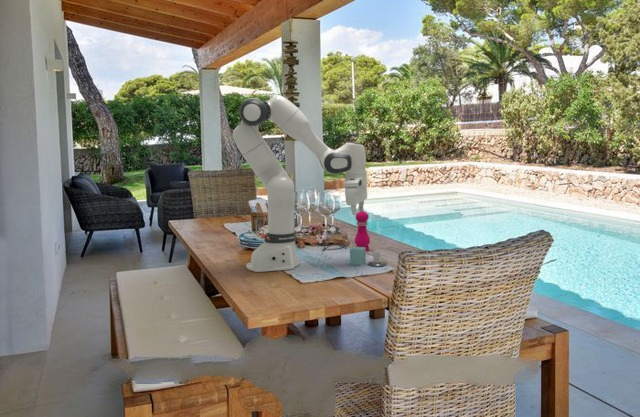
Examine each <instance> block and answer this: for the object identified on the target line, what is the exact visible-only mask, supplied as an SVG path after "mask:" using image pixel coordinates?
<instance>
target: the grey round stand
mask: <svg viewBox="0 0 640 417" xmlns="http://www.w3.org/2000/svg"><path fill="white" fill-rule="evenodd" d="M372 253H373V254H372V255H373V258H372V260H373V261H368V262H367V265H368V266H369V267H372V266H373V268H382V267H386V266H387V265H388V262H387V261H383V260H382V251H381V250H374V251H373V252H372Z"/></svg>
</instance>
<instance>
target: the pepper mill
mask: <svg viewBox="0 0 640 417" xmlns="http://www.w3.org/2000/svg"><path fill="white" fill-rule="evenodd" d="M368 220H369V213H367V212H366V211H365V209H364V208H363V211H357V215H355V221H356V225H357V233H356V235H355V236H354V244H355V245H356V246H355V247H366V252H368V251H369V250H370V246H369V245H370V242H371V238H370V236H369V234H368V231H367V230H368V229H367V226H368Z"/></svg>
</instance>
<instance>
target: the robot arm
mask: <svg viewBox="0 0 640 417" xmlns="http://www.w3.org/2000/svg"><path fill="white" fill-rule="evenodd" d="M238 111H239V112H238V114H239V118H240V120H241V121H240V123H239V124H238V125H236V127H235V128H234V129H233V131H232V139H233V140H234V143H235V145H236V147H237V149H238V150H239V152H240V154H241V155H242V157H243V158H244V160H245V161H246V162H247V164H248V165H249V168H251V170H252V171H253V173H254V174H255V175H256V177H257V178H258V179H259V181H260V182H261V184H262V185H263V186H264V188H265V189H266V191H267V221H268V222H267V230H268V232H267V233H266V234H265V233H264V232H262V233H261V234H260V238H261V239H264V242H262V244H260V245H259V246H258V247H257V248H256V249H255V250H253V251H252V254H251V260H250V262H247V263H246V265H245V268H246V269H247V270H249V271H252V272H256V273H263V272H275V271H287V270H293V269H294V268H295V267H298V266H299V265H300V262H299V258H298V255H297V248H296V244H297V234H296V231H295V184H294V182H293V180H292V179H291V177H290V176H289V174H288V173H287V171H286V170H285V169H284V167H283V165H282V164H281V162H280V161H279V159H278V158H277V156H276V155H275V153H274V152H273V150H272V149H271V148H270V145H268V143H267V142H266V140H265V139H264V137H263V136H262V134H261V133H260V130H259V127H260V125H261V124H262V123H264V122H265V121H267V120H269V121H272V122H273V123H274V124H275V126H277V127H278V128H279V129H280V130H281V131H282V132H283V133H285V134H286V135H288V136H289V137H290V138H292V139H293V140H295V141H297V142H300V143H302V144H303V145H304V146H305V147H306V148H308V149H309V150H310V151H311V152H312V153H313V154H314V155H315V156H316V158H318V160H319V163H320V166H321V167H322V169H323V170H324V171H325V172H326V173H329V174H331V175H339V174H342V173H345V178H344V181H343V187H344V194H345V195H344V196H345V203H346V205H347V206H350V209H351V215H352V216H356V215H357V213H358V212H360V211H363V209H364V205H365V200H367V199H368V188H367V185H368V178H367V176H368V174H367V173H368V172H367V170H366V165H367V155H366V149H365V146H364V145H363V144H362V143H360V142H355V141H354V142H353V141H347V142H345V143H344V144H343V145H341V146H340V147H338V148H336V149H334V148H331V147H329V146H328V145H326V143H325V142H324V141H322V139H321V138H319V136H317V134H315V132H314V130H313V128H312V126H311V123H310V120H309V119H308V118H307V116H306V115H305V114H304V113H303V111H302V110H300V109H299V108H298V106H297V105H295V104H294V103H293V102H291V100H289V99H287V98H286V97H284V96H283V95H282V94H276V95H274V96H272V97H270V99H269V100H267V101H264V100H261V99H259V98H258V97H257V98H256V97H250V98H249V97H248V98H247V99H245V100H243V102H242V103H241V104H240V107H239V109H238ZM357 205H358V210H357Z"/></svg>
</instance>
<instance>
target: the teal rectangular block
mask: <svg viewBox="0 0 640 417" xmlns="http://www.w3.org/2000/svg"><path fill="white" fill-rule="evenodd" d="M366 257H367V251H366V247H356V246H353V247H351V248H350V249H349V264H350V265H352V264H353V266H354V265H355V266H363V265H364V264H366V262H367V261H366V260H367V258H366Z"/></svg>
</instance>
